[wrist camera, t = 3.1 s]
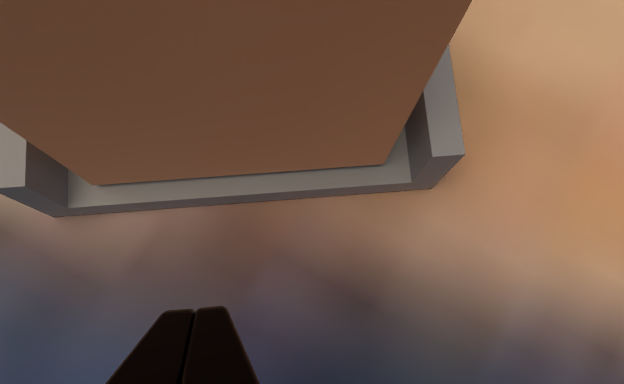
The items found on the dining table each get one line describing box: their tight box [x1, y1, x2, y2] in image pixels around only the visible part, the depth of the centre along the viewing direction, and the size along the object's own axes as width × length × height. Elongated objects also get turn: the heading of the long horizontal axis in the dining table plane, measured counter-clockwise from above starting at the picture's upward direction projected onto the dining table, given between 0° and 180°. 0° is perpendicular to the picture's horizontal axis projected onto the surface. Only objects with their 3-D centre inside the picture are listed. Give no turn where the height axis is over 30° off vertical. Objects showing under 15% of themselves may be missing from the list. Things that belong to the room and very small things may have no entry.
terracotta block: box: [0, 0, 472, 185], centre depth 11 cm, size 4×8×10 cm, turn 95°
